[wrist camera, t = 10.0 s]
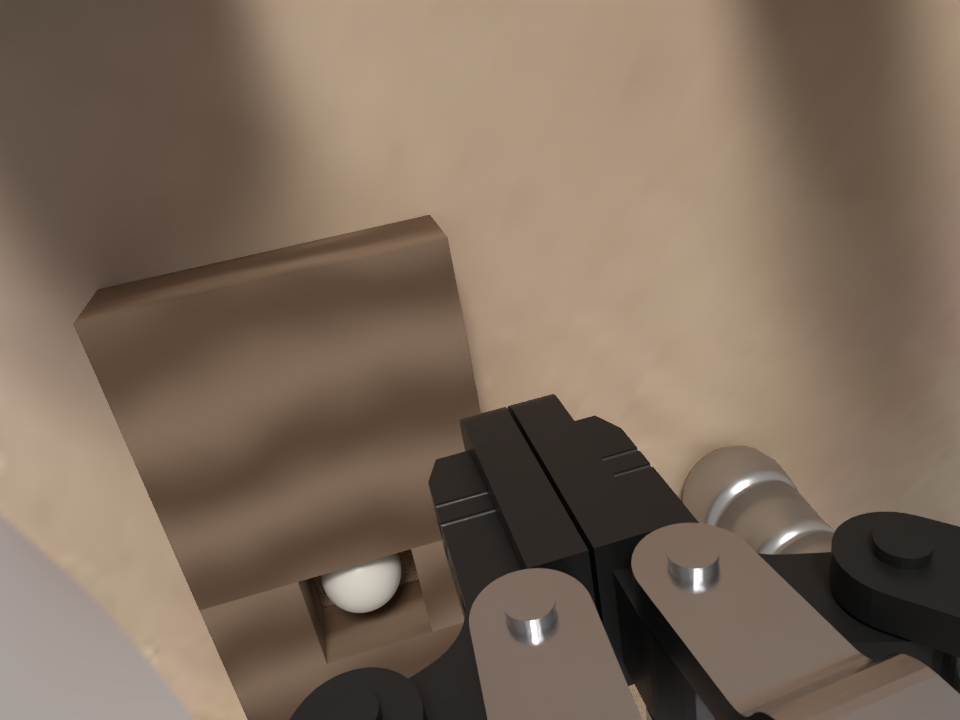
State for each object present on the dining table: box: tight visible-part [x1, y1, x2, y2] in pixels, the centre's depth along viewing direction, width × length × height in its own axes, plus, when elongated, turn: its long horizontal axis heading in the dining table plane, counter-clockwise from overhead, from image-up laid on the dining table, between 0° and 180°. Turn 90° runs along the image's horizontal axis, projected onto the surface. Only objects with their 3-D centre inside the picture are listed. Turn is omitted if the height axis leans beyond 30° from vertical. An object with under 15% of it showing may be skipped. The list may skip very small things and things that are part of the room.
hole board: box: [74, 215, 481, 720], centre depth 40 cm, size 26×16×4 cm, turn 10°
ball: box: [321, 553, 402, 613], centre depth 42 cm, size 4×4×4 cm
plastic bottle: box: [682, 446, 835, 554], centre depth 40 cm, size 6×7×20 cm
